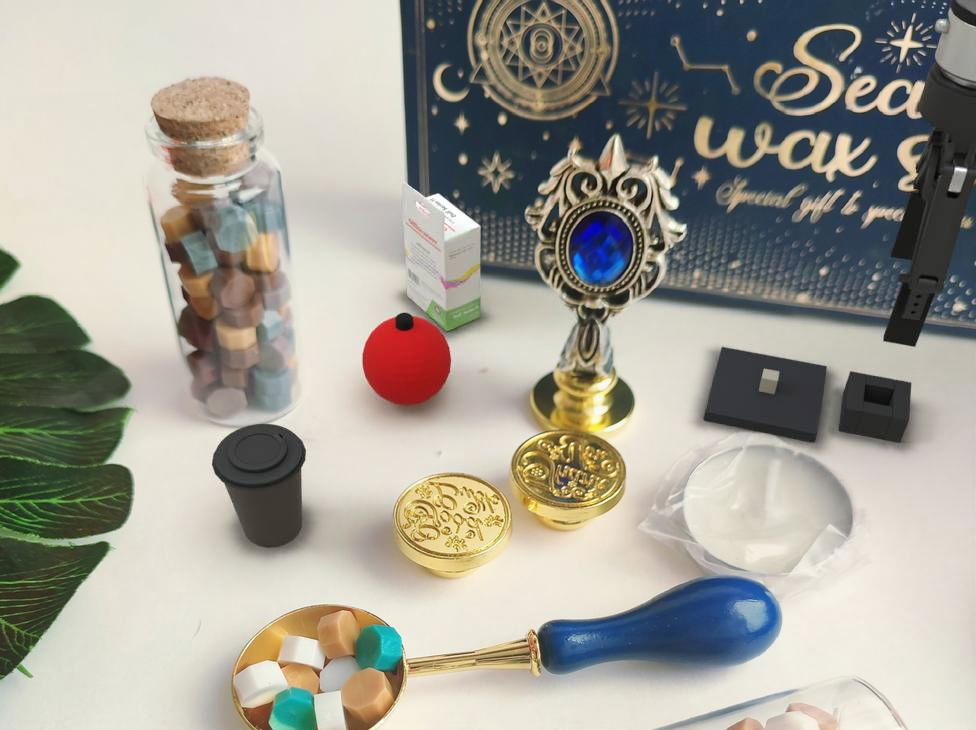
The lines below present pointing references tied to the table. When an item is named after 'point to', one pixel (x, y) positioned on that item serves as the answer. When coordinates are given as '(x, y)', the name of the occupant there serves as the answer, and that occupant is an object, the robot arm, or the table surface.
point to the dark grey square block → (875, 406)
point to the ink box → (441, 258)
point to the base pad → (766, 394)
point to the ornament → (406, 360)
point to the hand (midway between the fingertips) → (902, 298)
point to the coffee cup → (263, 481)
